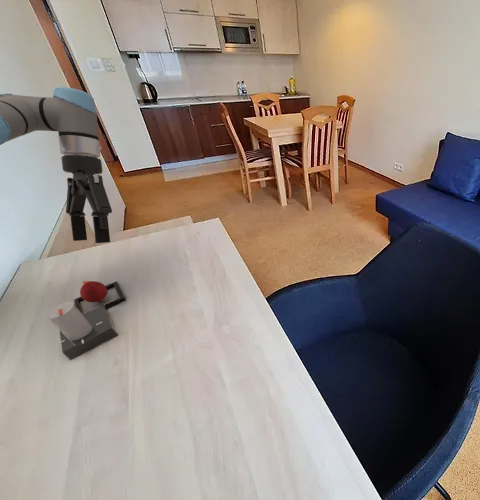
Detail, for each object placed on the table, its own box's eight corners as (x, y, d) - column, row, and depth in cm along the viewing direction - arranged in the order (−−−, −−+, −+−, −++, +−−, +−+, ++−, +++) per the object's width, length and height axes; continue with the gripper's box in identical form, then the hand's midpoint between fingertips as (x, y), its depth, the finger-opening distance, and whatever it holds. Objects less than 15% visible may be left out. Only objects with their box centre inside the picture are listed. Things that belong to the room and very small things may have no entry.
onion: (110, 291, 91) (95, 271, 87) (114, 300, 88) (99, 279, 83) (87, 302, 88) (71, 281, 84) (91, 311, 85) (73, 290, 80)
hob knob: (67, 333, 75) (45, 309, 70) (91, 321, 77) (71, 298, 72) (69, 344, 71) (46, 320, 67) (94, 332, 74) (73, 308, 69)
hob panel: (62, 333, 79) (55, 325, 77) (109, 311, 84) (103, 303, 82) (67, 363, 71) (58, 355, 69) (118, 336, 76) (112, 328, 75)
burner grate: (76, 302, 89) (73, 299, 88) (118, 283, 94) (116, 280, 94) (80, 322, 82) (78, 318, 81) (126, 300, 88) (124, 297, 87)
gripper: (123, 154, 72) (131, 242, 75) (80, 163, 85) (88, 238, 87) (83, 148, 66) (94, 245, 68) (43, 159, 78) (53, 240, 81)
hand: (91, 241), depth 78 cm, fingers open, 13 cm apart
